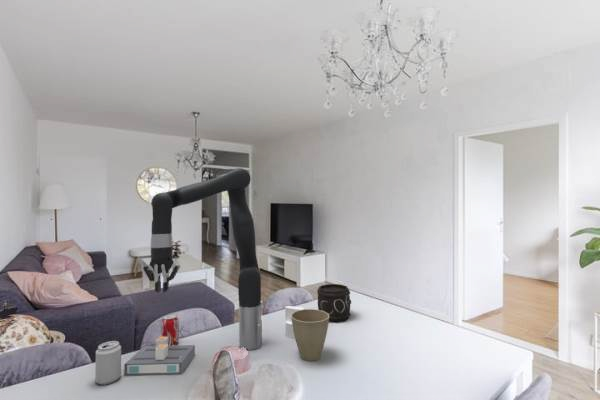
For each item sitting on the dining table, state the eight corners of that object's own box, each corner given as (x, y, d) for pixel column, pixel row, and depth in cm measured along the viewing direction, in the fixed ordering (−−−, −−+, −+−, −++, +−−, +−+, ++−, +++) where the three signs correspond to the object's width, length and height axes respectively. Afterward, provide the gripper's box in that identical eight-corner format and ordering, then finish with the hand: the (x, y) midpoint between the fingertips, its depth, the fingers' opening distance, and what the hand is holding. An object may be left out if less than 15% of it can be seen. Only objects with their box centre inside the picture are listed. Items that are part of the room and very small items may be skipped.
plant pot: (302, 370, 109) (302, 324, 109) (285, 353, 122) (284, 312, 122) (337, 360, 116) (336, 317, 116) (317, 345, 129) (316, 306, 129)
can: (103, 374, 108) (103, 340, 108) (125, 373, 108) (125, 339, 109) (90, 386, 100) (90, 349, 101) (114, 385, 101) (114, 348, 101)
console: (194, 355, 121) (194, 344, 122) (181, 374, 107) (181, 362, 107) (144, 356, 121) (144, 346, 121) (123, 375, 107) (124, 364, 107)
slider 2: (167, 355, 113) (167, 343, 113) (163, 359, 109) (163, 347, 109) (159, 355, 113) (159, 343, 113) (155, 360, 109) (155, 348, 109)
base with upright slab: (282, 336, 138) (281, 309, 139) (290, 329, 146) (289, 304, 147) (300, 339, 135) (300, 311, 135) (307, 331, 143) (307, 305, 144)
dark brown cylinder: (354, 323, 153) (353, 291, 153) (318, 323, 153) (318, 292, 154) (349, 311, 171) (348, 283, 171) (317, 311, 171) (316, 283, 172)
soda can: (172, 348, 127) (172, 319, 128) (157, 347, 129) (157, 318, 129) (182, 341, 134) (182, 314, 135) (167, 340, 136) (167, 313, 136)
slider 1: (167, 347, 120) (167, 336, 120) (163, 351, 116) (163, 339, 116) (159, 347, 120) (159, 336, 120) (155, 351, 116) (155, 340, 116)
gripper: (183, 244, 120) (183, 289, 119) (148, 244, 119) (148, 289, 119) (176, 246, 112) (176, 294, 112) (138, 247, 112) (138, 295, 111)
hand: (161, 291), depth 115 cm, fingers closed
